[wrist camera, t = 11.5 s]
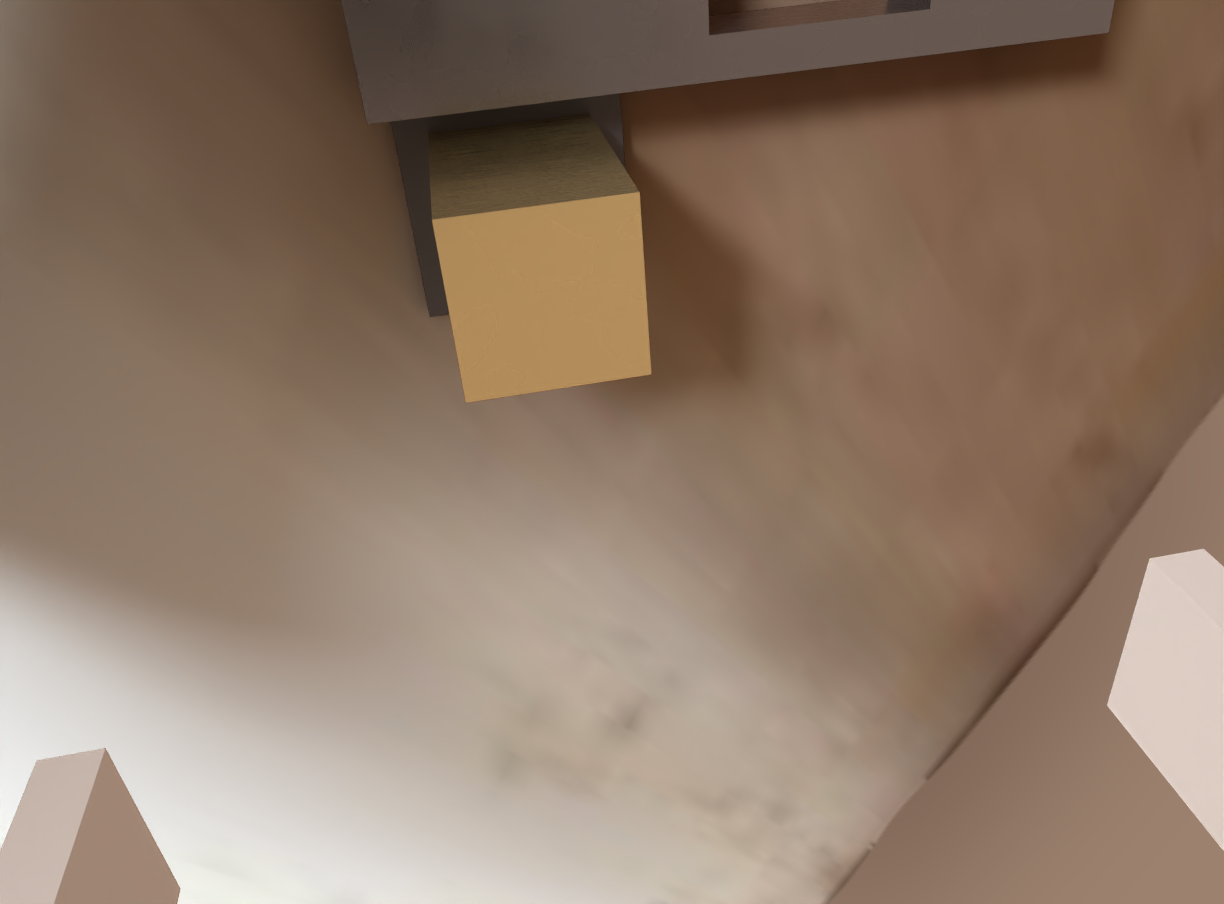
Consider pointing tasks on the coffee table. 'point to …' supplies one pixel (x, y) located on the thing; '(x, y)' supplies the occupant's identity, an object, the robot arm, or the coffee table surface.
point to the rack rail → (656, 44)
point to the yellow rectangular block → (539, 256)
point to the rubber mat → (415, 131)
